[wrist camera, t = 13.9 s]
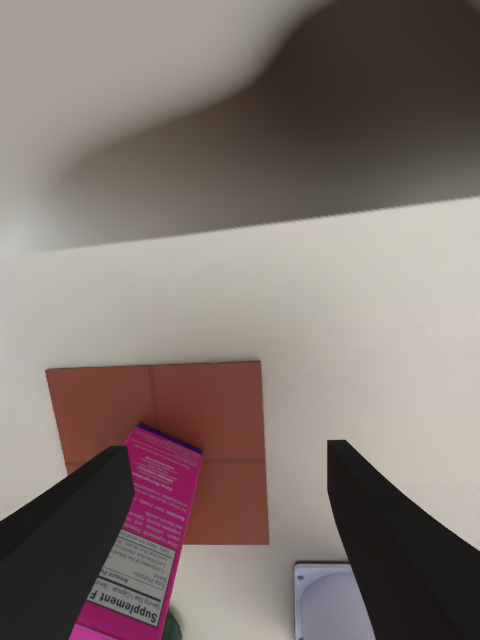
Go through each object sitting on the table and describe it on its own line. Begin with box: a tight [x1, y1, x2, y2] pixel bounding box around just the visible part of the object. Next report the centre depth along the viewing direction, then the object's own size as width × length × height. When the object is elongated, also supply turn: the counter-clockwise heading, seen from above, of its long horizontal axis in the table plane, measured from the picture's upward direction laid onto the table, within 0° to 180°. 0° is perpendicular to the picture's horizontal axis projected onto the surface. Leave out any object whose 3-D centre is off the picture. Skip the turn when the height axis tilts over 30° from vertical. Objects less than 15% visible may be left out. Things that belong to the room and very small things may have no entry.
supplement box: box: [69, 423, 204, 640], centre depth 16 cm, size 6×6×12 cm
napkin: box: [45, 361, 269, 545], centre depth 22 cm, size 16×16×1 cm
